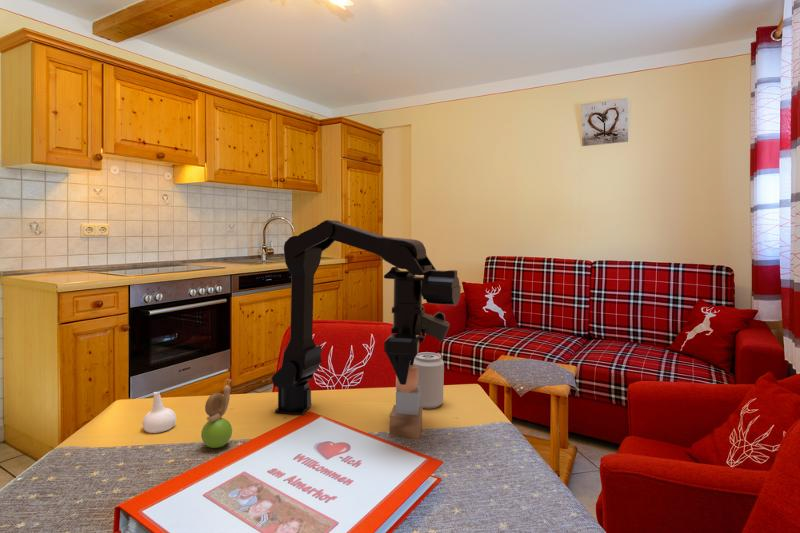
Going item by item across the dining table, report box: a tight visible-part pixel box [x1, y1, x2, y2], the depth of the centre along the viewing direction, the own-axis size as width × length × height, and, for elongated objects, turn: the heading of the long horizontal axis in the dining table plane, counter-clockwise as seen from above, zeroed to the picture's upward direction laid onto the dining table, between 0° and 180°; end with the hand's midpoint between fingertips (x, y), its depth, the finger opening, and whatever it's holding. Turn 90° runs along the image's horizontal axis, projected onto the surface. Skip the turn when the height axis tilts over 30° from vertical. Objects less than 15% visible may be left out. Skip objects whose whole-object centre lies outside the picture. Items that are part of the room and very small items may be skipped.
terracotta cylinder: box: [395, 365, 418, 393], centre depth 96 cm, size 4×4×4 cm
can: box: [413, 351, 445, 410], centre depth 111 cm, size 8×8×12 cm
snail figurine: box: [200, 378, 233, 449], centre depth 88 cm, size 5×6×12 cm
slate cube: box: [395, 386, 420, 415], centre depth 96 cm, size 4×4×4 cm
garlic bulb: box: [142, 391, 177, 434], centre depth 96 cm, size 6×6×8 cm
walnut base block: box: [388, 404, 423, 440], centre depth 96 cm, size 6×6×4 cm
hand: (406, 377), depth 96 cm, fingers open, 9 cm apart
